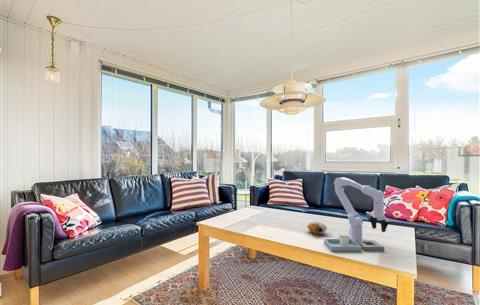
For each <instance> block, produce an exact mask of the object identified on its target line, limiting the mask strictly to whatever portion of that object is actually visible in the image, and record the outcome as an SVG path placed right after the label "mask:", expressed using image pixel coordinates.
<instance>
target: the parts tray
mask: <svg viewBox="0 0 480 305" xmlns="http://www.w3.org/2000/svg"><path fill="white" fill-rule="evenodd" d="M323 244H324V245H325V246H326V247H327V248H328V250H330V252H333V253H335V252H342V253H343V252H344V253H345V252H348V253H349V252H354V253H356V252H358V253H359V252H360V253H362V251H363V250H362V247H361V246H360V245H359V244H357V243H356V242H355V241H353V240H352V239H350V238H349V246H340V238H323Z"/></svg>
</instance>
